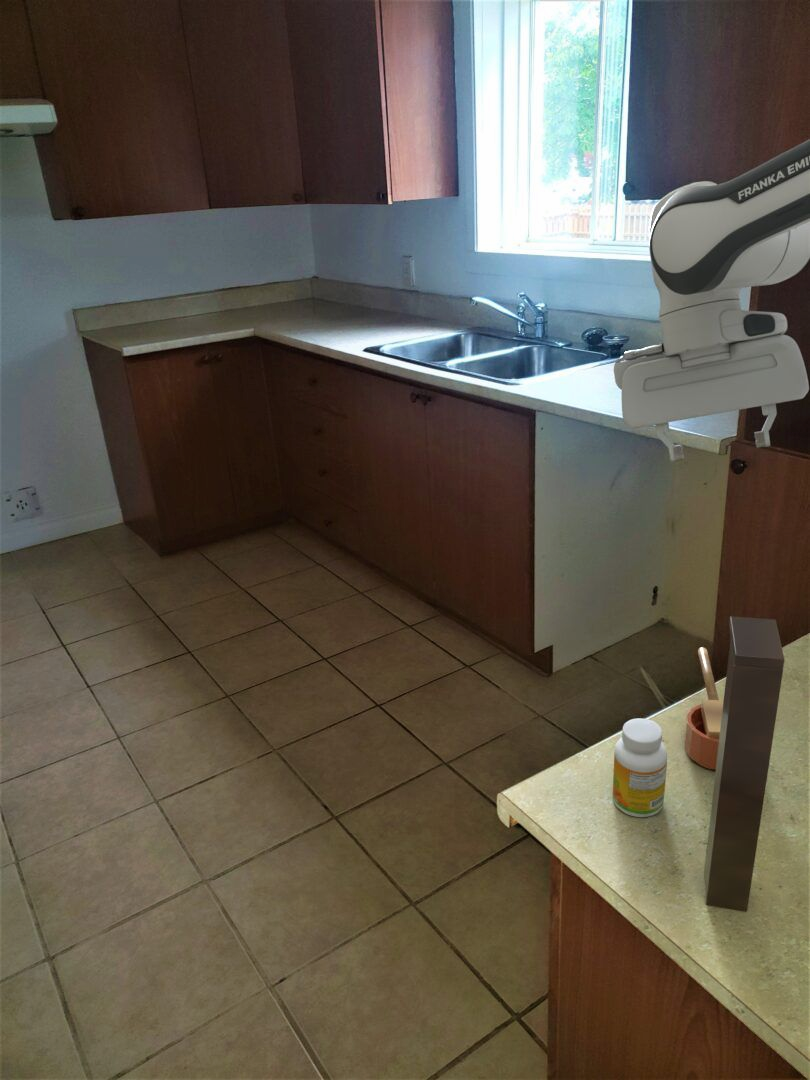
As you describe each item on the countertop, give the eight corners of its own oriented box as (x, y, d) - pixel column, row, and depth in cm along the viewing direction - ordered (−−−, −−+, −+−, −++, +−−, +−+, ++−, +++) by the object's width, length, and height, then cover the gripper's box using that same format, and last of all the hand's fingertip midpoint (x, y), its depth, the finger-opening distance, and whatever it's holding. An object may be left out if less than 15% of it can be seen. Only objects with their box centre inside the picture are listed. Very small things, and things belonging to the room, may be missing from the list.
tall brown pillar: (741, 861, 81) (775, 619, 69) (747, 911, 75) (784, 659, 63) (703, 856, 82) (730, 616, 70) (705, 905, 76) (735, 655, 64)
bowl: (745, 737, 97) (749, 706, 95) (750, 777, 91) (755, 745, 89) (683, 730, 99) (686, 700, 97) (684, 769, 93) (687, 737, 91)
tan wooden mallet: (735, 742, 91) (737, 732, 90) (707, 741, 92) (708, 731, 91) (713, 653, 103) (715, 644, 102) (689, 653, 104) (690, 643, 103)
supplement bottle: (611, 781, 92) (614, 711, 88) (661, 785, 91) (667, 715, 87) (612, 816, 87) (616, 744, 83) (665, 821, 86) (671, 748, 82)
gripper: (607, 352, 95) (625, 470, 96) (800, 311, 87) (817, 439, 88) (614, 356, 101) (631, 466, 102) (796, 317, 93) (812, 437, 94)
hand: (719, 453), depth 95 cm, fingers open, 8 cm apart
